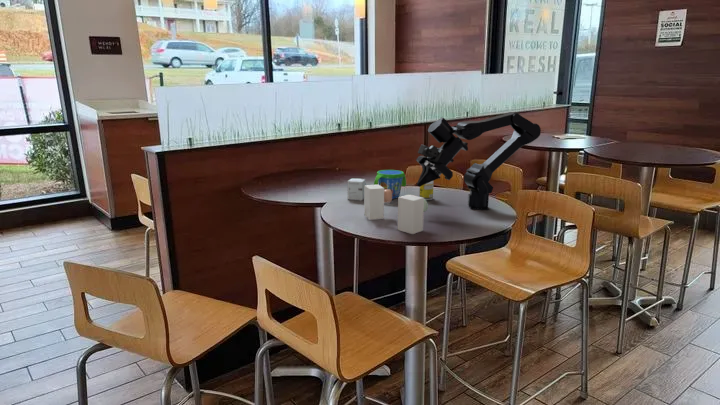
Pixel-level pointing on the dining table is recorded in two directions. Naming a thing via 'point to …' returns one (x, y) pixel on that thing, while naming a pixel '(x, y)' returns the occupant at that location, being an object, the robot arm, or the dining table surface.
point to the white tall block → (374, 202)
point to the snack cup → (391, 181)
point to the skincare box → (356, 189)
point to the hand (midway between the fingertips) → (417, 185)
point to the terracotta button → (387, 195)
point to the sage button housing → (410, 213)
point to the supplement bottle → (427, 191)
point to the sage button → (425, 205)
